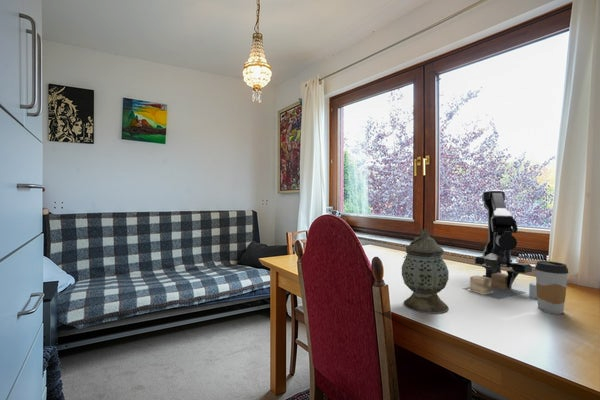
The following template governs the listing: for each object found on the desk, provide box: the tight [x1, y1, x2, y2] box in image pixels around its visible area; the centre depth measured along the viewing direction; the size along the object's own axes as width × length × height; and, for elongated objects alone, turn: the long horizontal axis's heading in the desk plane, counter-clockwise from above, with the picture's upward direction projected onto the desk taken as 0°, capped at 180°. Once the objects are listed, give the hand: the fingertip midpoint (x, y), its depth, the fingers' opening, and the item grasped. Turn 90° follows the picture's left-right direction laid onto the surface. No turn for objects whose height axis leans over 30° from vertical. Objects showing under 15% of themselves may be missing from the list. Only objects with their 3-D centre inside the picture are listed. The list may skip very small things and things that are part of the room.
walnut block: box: [491, 272, 513, 290], centre depth 122 cm, size 5×5×5 cm
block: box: [528, 281, 537, 299], centre depth 111 cm, size 5×5×5 cm
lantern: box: [401, 229, 450, 315], centre depth 101 cm, size 14×14×25 cm
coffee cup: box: [534, 260, 569, 315], centre depth 99 cm, size 8×8×15 cm
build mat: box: [461, 286, 527, 300], centre depth 118 cm, size 18×14×1 cm
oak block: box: [469, 274, 491, 293], centre depth 118 cm, size 5×5×5 cm
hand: (501, 285), depth 122 cm, fingers open, 5 cm apart
